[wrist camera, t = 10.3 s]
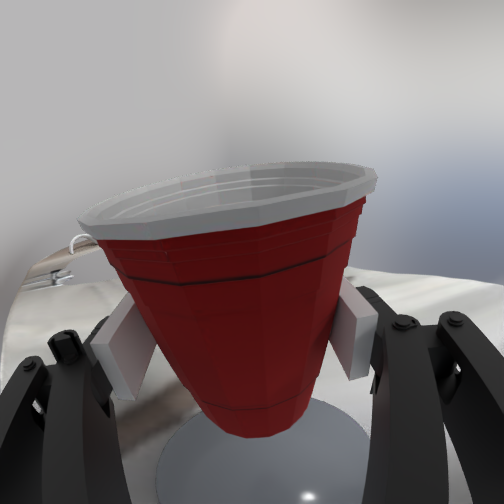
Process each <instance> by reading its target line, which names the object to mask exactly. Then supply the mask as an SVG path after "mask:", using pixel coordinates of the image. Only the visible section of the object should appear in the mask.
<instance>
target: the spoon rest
mask: <svg viewBox="0 0 504 504" xmlns="http://www.w3.org/2000/svg"><path fill="white" fill-rule="evenodd" d="M81 237H84V238H87V239H89V240H91V241H92V242H94V243H96V244H97V245H98V243H97V240H95V239H94V238H93V237H92V236H90V235H88V234H81V235H78V236H76V237H74V238H73V239H72V241H71V243H70V247H69V250H70V253H71V254H74V251H73V244H74V242H75V241H76V240H77V239H78V238H81Z"/></svg>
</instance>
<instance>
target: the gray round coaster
mask: <svg viewBox="0 0 504 504" xmlns="http://www.w3.org/2000/svg"><path fill="white" fill-rule="evenodd" d="M369 449H370V439H369V437H368V435H367V434H366V432H365V431H364V430H363V428H362V427H361V426H360V425H359V424H358V423H357V422H356V421H355V420H354V419H353V418H351V417H350V416H349V415H347V414H346V413H345V412H343V411H341V410H340V409H338V408H336V407H334V406H332V405H330V404H328V403H326V402H323V401H320V400H317V399H314V398H310V401H309V404H308V407H307V409H306V410H305V411H304V414H303V416H302V417H301V418H300V419H299V420H298V421H297V422H296V423H295V424H294V425H292V426H291V427H290V428H289V429H287V430H285V431H283V432H280V433H278V434H275V435H273V436H271V437H264V438H248V439H246V438H242V437H239V436H235V435H232V434H228V433H226V432H224V431H223V430H222V429H221V428H219V427H218V426H217V425H216V424H215V423H213V422H212V421H211V420H210V419H209V418H208V417H206V415H205V414H204V412H203V411H202V412H201V413H199V414H198V415H196V416H194V417H193V418H192V419H190V420H189V421H188V422H186V423H185V424H184V425H183V426H182V427H181V428H180V429H179V430H178V431H177V432H176V433H175V434H174V435H173V436H172V438H171V439H170V440H169V442H168V443H167V445H166V446H165V448H164V450H163V452H162V454H161V457H160V459H159V462H158V466H157V471H156V491H157V495H158V499H159V503H160V504H361V503H362V498H363V493H364V487H365V480H366V474H367V466H368V458H369Z"/></svg>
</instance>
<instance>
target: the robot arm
mask: <svg viewBox="0 0 504 504" xmlns="http://www.w3.org/2000/svg"><path fill="white" fill-rule="evenodd" d="M329 341H330V343H331V345H332V347H333V349H334V351H335V353H336V355H337V357H338V359H339V361H340V363H341V365H342V367H343V369H344V371H345V373H346V375H347V377H348V379H349V381H350V380H354V379H357V378H361V377H365V376H368V373H369V368H370V364H371V366H372V367H373V369H374V371H375V375H374V379H373V383H372V387H371V391H370V394H373V406H372V425H371V438H370V449H369V458H368V466H367V474H366V480H365V487H364V493H363V498H362V503H361V504H449V482H448V461H447V449H446V439H445V431H444V424H445V426H446V429H447V431H448V433H449V436H450V438H451V441H452V443H453V446H454V448H455V451H456V453H457V456H458V459H459V461H460V464H461V467H462V469H463V472H464V475H465V478H466V481H467V484H468V487H469V491H470V494H471V497H472V501H473V504H504V357H503V356H502V355H501V353H500V352H499V351H498V350H497V349H496V348H495V346H494V345H493V344H492V343H491V342H490V341H489V339H488V338H487V337H486V336H485V335H484V334H483V333H482V332H481V330H480V329H479V328H478V327H477V326H476V325H475V324H474V323H473V322H472V321H471V320H470V319H469V318H468V317H467V316H466V315H465V314H462V313H460V312H457V311H449V312H445V313H442V315H441V316H440V318H439V322H438V325H425V326H421V325H420V323H419V321H418V320H417V319H415V318H414V317H411V316H408V315H402V314H399V315H397V314H396V313H395V312H394V311H393V310H392V309H391V308H390V307H389V306H388V305H387V304H386V303H385V302H384V301H383V300H382V299H381V298H380V297H379V296H378V295H377V294H376V293H375V292H374V291H373V290H372V289H369V288H367V287H365V286H361V287H356V288H355V287H354V286H353V285H352V284H351V283H350V282H349V281H348V279H347V278H346V277H345V276H344V275H343V278H342V283H341V288H340V293H339V297H338V302H337V307H336V311H335V315H334V320H333V324H332V328H331V332H330V336H329ZM47 343H48V345H49V347H50V349H51V351H52V353H53V355H54V357H55V359H56V361H57V363H56V364H55V365H48V366H45V364H44V362H43V360H42V359H41V358H40V357H39V356H30V357H27V358H25V359H24V360H23V361H22V362H21V363H20V364H19V365H18V367H17V369H16V370H15V372H14V373H13V375H12V376H11V378H10V380H9V381H8V383H7V385H6V386H5V388H4V390H3V391H2V393H1V395H0V504H132V503H131V499H130V496H129V492H128V488H127V483H126V479H125V475H124V470H123V465H122V460H121V454H120V449H119V442H118V436H117V428H116V421H115V412H114V404H113V401H112V399H111V398H110V394H111V392H112V390H114V392H115V394H116V396H117V397H118V399H120V400H134V401H136V398H137V395H138V392H139V390H140V387H141V384H142V381H143V379H144V376H145V373H146V370H147V368H148V365H149V362H150V360H151V357H152V355H153V352H154V349H155V347H156V344H157V342H156V341H155V339H154V337H153V335H152V334H151V332H150V330H149V328H148V327H147V325H146V323H145V321H144V319H143V317H142V315H141V314H140V312H139V310H138V308H137V306H136V304H135V302H134V300H133V298H132V296H131V294H130V293H129V292H128V293H127V294H126V295H125V296H124V298H123V299H122V300H121V302H120V303H119V304H118V306H117V307H116V308H115V310H114V311H113V312H112V314H111V315H110V316H106V317H105V318H104V319H102V320H101V321H100V322H99V323H98V324H97V325H96V327H95V329H93V331H92V332H91V335H89V336H88V338H87V339H86V340H85V342H84V343H83V344H82V343H81V340H80V338H79V336H78V334H77V332H76V331H74V330H64V331H61V332H58V333H57V334H55V335H53V336H52V337H51V338H50V339H49V341H48V342H47ZM457 364H458V365H459V367H460V369H461V371H460V372H459V371H458V370H457V368H456V366H457ZM34 400H35V401H36V402H37V403H38V405H39V406H40V408H41V412H40V413H38V412H37V411H36V409H35V408H34V407H33V405H32V404H33V402H34ZM443 422H444V424H443Z"/></svg>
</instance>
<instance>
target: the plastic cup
mask: <svg viewBox="0 0 504 504" xmlns="http://www.w3.org/2000/svg"><path fill="white" fill-rule="evenodd" d="M377 178H378V177H377V175H376V173H375V171H374V169H371V168H367V167H363V166H359V165H355V164H347V163H335V162H280V163H268V164H256V165H246V166H238V167H230V168H223V169H217V170H211V171H205V172H200V173H195V174H190V175H186V176H181V177H176V178H173V179H168V180H164V181H161V182H157V183H153V184H149V185H146V186H142V187H139V188H136V189H134V190H131V191H128V192H125V193H122V194H119V195H116V196H114V197H111V198H109V199H107V200H105V201H102V202H101V203H98V204H96V205H94V206H92V207H90V208H88V209H87V210H86V211H85V212H84V213H83V214H81V216H79V217H78V218H77V221H78V222H79V224H80V226H81V228H82V229H83V231H85V232H86V233H88V234H89V235H90V236H92V237H93V238H94V239H95V240H97V243H98V245H99V247H101V248H102V249H103V250H104V252H105V254H106V257H107V259H108V261H109V263H110V265H112V266H113V267H114V268H115V269H116V271H117V273H118V275H119V278H120V279H121V281H122V283H123V285H124V287H125V289H126V290H127V291H128V292H129V293H130V294H131V296H132V298H133V300H134V302H135V304H136V306H137V308H138V310H139V312H140V314H141V315H142V317H143V319H144V321H145V323H146V325H147V327H148V328H149V330H150V332H151V334H152V335H153V337H154V339H155V341H156V342H157V344H158V346H159V348H160V349H161V351H162V353H163V354H164V356H165V358H166V359H167V361H168V362H169V364H170V366H171V367H172V369H173V370H174V372H175V373H176V375H177V377H178V378H179V380H180V381H181V383H182V384H183V386H184V387H186V388H187V389H188V390H189V391H190V393H191V394H192V396H193V397H194V399H195V400H196V402H197V403H198V405H199V406H200V408H201V409H202V411H203V412H204V414H205V415H206V417H208V418H209V419H210V420H211V421H212V422H213V423H215V424H216V425H217V426H218V427H219V428H221V429H222V430H223V431H224V432H226V433H228V434H232V435H235V436H239V437H242V438H246V439H248V438H264V437H271V436H273V435H275V434H278V433H280V432H283V431H285V430H287V429H289V428H290V427H291V426H292V425H294V424H295V423H296V422H297V421H298V420H299V419H300V418H301V417H302V416H303V414H304V411H305V410H306V409H307V407H308V404H309V401H310V398H311V395H312V392H313V388H314V385H315V381H316V378H317V377H318V376H319V373H320V369H321V366H322V362H323V359H324V355H325V351H326V348H327V344H328V340H329V336H330V332H331V328H332V324H333V320H334V315H335V311H336V307H337V302H338V297H339V293H340V288H341V283H342V278H343V272H344V268H346V267H347V265H348V259H349V254H350V249H351V243H352V238H354V237H355V236H356V230H357V224H358V218H359V215H360V214H362V207H363V204H365V203H366V195H368V194H370V193H372V192H374V190H375V186H376V182H377Z"/></svg>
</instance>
